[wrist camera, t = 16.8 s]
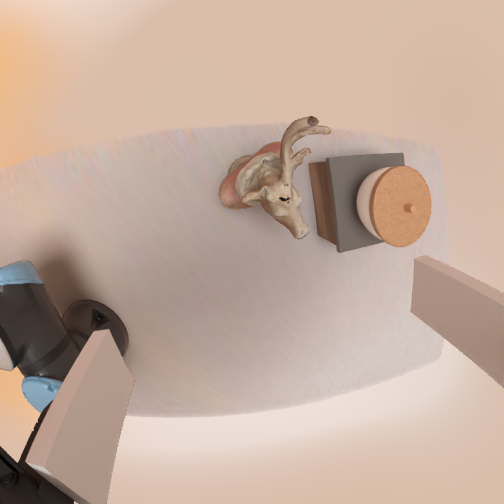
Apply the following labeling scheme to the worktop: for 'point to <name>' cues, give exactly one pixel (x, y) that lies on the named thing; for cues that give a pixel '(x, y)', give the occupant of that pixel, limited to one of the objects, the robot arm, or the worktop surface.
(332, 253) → the worktop surface
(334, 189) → the block
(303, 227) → the decorative bust
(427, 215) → the lidded jar
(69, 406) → the robot arm
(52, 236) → the worktop surface
